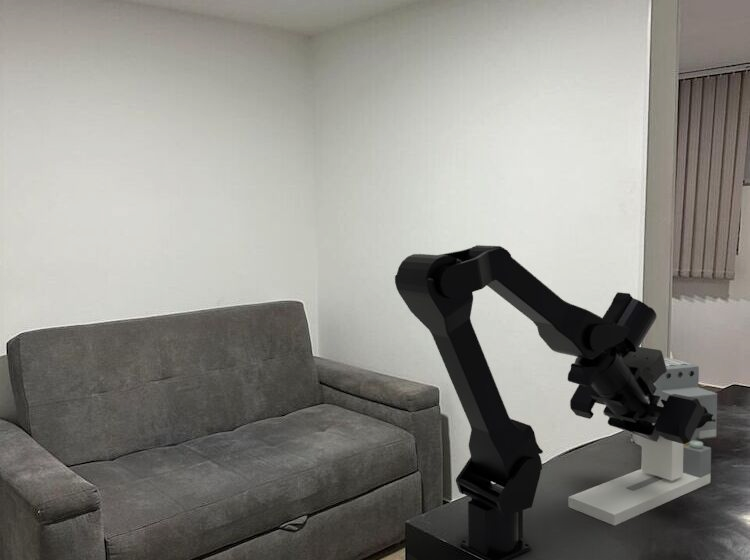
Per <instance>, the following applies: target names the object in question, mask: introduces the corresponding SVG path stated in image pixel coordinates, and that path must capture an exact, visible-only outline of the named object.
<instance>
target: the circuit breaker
mask: <svg viewBox="0 0 750 560" xmlns="http://www.w3.org/2000/svg"><path fill="white" fill-rule="evenodd" d="M663 358H664V361H665V365H666V368H667V371H666V373H665V374H662V375H661V376H660V377H659V378H658V380H657V381H656V382H655V383H653V384H654V385H655V387H656V388H657V389H656V391H655V393H654V395H657V396H660V397H661V399H662V400H666V401H667V399H668V397H669V395H672V394H678V395H683V396H688V397H692V398H697V399H698V400H699V402H700V403H701V405H702V406H703V408H704V410H705V411H704V413H703V415H702V417H701V419H700V422H699V424H698V426H697V428H696V430H695V432H694V434H693V436H692V438H691V440H690V441H692V440H696V441H698V440H702V439H703V440H704V439H712V438H717V425H718V424H717V423H718V421H717V419H718V393H717V392H714V391H710V390H707V389H706V388H702V387H699V383H700V382H699V380H700V379H699V378H700V376H699V375H700V373H699V370H700V369H699V365H697V364H693V363H690V362H685V361H682V360H678V359H675V358H670V357H663ZM631 434H632V438H630V442H633V443H635V444H636V445H638V446H640V447H642V437H641V436H638V435H635V434H633V433H631Z"/></svg>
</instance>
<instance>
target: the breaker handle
mask: <svg viewBox="0 0 750 560" xmlns="http://www.w3.org/2000/svg"><path fill="white" fill-rule="evenodd" d="M640 465H641V468H640V469H641V471H643V472H646V473H649V474H652V475H655V476H659V477H662V478H665V479H668V480H671V481H672V480H674V479H677V478H679V477H681V476H683V444H682V443H678V442H674V441H670V440H667V439H665V438H663V437H662V436H660V435H659V438H658V440H657V442H655V441H651V440H649V439H646V438H643V437H642V446H641V464H640Z"/></svg>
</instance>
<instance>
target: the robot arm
mask: <svg viewBox="0 0 750 560" xmlns="http://www.w3.org/2000/svg"><path fill="white" fill-rule="evenodd" d="M394 283H395V287H396V291H397V292H398V294H399V296H400V297H401V299H402V300H403V302H404V303H405V305H406V306H407V308H408V309H409V311H410V312H411V314H413V315H414V317H415V318H416V319H418V320H419V322H421V323H422V325H424V327H426V329H427V330H428V331H429V332H430V334H431V336H432V337H433V338H432V339H433V340H434V341H433V342H434V343H435V346H436V348H437V349H438V350H437V351H438V352H439V355H440V357H441V360H442V362H443V364H444V366H445V369H446V372H447V373H448V377H449V379H450V380H451V381H450V382H451V383H452V386H453V387H454V391H455V392H456V395H457V397H458V400H459V403H460V404H461V406H462V409H463V411H464V413H465V416H466V418H467V420H468V423H469V426H470V435H469V440H468V450H469V453H470V457H469V459H468V460H467V462H466V463H465V465H464V466H463V468H462V469H461V471H460V472H459V474H458V475H457V477H455V484H456V487H457V489H458V492H459V493H460V494H462V495H465V496H467V497H469V498H471V500H468V502H467V520H468V521H467V524H468V525H467V529H468V530H467V531H468V532H467V533H468V534H467V536H468V537H466V538H464V539H461V540H460V541H459V546H461V547H462V548H464V549H465V550H468V551H469V552H471V553H473V554H475V555H477V556H479V558H482V559H484V560H509V559H512V558H514V557H516V556H519V555H521V554H523V553H525V552H528V551H530V550H531V548H532V545H531V544H530V543H529V542H526V541H524V540H523V538H524V537H523V536H524V533H523V532H524V531H523V530H524V528H523V527H524V525H523V524H524V522H523V520H524V518H523V517H524V513H523V512H524V511H525V510H528V509H531V508H532V507H533V504H534V501H535V496H536V492H537V487H538V484H539V481H540V477H541V471H542V469H543V464H542V463H543V461H542V457H541V454H542V455H543V453H544V450H542V448H541V447H540V446H539V444H538V442H537V438H536V434H535V431H534V429H533V427H532V426H531V425H529V424H526V423H525V422H521V421H519V420H515V419H513V418H510V416H509V413H508V411H507V408H506V406H505V403H504V401H503V398H502V396H501V394H500V391H499V388H498V387H497V384H496V383H497V382H496V381H495V378H494V376H493V374H492V371H491V368H490V366H489V363H488V361H487V358H486V356H485V353H484V350H483V349H482V346H481V343H480V341H479V339H478V336H477V334H476V331H475V327H474V326H473V323H472V320H471V314H472V308H473V302H474V292H476V291H480V290H483V289H484V288H485V287H486V286H487V287H489V289H491V290H492V291H493V292H495V293H496V294H497V295H498V296H500V297H501V298H502V299H503V300H505V301H506V302H507V303H509V304H510V305H511V306H512V307H514V308H515V309H516V310H518V311H519V312H520V313H521V314H522V315H524V316H526V317H527V319H529V320H530V321H532V323H533V324H534V325H535V326H536V328H537V331H538V335H539V337H540V338H541V339H542V341H544V343H545V344H546V345H547V347H548V348H549V349H550V350H552V351H553V352H555V353H557V354H558V353H559V354H563V355H567V356H573V357H576V358H575V360H574V363H573V362H572V363H571V364H570V370H569V371H568V373H567V381H568V382H570V383H573V384H576V385H578V386H577V388H576V389H575V391H574V393H573V394H572V396H571V398H570V401H569V406H570V409H571V411H572V412H573V413H574V414H575V416H578V417H580V418H581V417H582V418H585V419H588V420H590V419H592V418H593V415H594V413H593V411H592V410H593V408H594V406H595V404H599V405H603V406H605V407H604V409H603V415H604V416H605V417H608V420H607V424H608V425H609V426H611V427H613V428H616V429H618V430H622V431H625V432H627V433H631V434H632V433H633V434H635V435H638V436H641V437H643V438H646V439H649V440H651V441H655V442H657V440H658V438H659V435H660V436H662V437H663V438H665V439H667V440H670V441H674V442H678V443H682V444H686V443H688V442H690V440H691V438H692V436H693V434H694V432H695V430H696V428H697V426H698V424H699V422H700V419H701V417H702V415H703V413H704V411H705V410H704V408H703V406H702V405H701V403H700V402H699V400H698V399H697V398H692V397H688V396H683V395H678V394H672V395H669V397H668V399H667V401H666V400H662V399H661V397H660V396H657V395H654V393H655V391H656V389H657V388H656V387H655V385H654V384H653V383H655V382H656V381H657V380H658V378H659V377H660V376H661V375H662V374H665V373H666V371H667V368H666V365H665V361H664V358H665V357H664V354H663V352H662V350H661V349H655V348H649V347H641V344H642V343H643V341H644V339H645V338H646V336H647V335H648V333H649V331H650V330H651V328H652V326H653V325H654V323H655V321H656V319H657V313H656V312H655V310H654V309H653V308H652V307H651V306H648V305H647V304H646V303H644V302H643V301H641V300H639V299H636V298H634V297H633V296H632V295H631V293H629V292H618V291H617V292H616V294H615V296H614V297H613V299H612V300H611V303H610V305H609V307H608V308H607V310H606V312H604V315H603V316H602V317H601V316H600V315H598V314H596V313H594V312H592V311H590V310H588V309H587V308H584V307H583V308H582V307H580V306H578V305H575V304H571V303H569V302H568V301H566V300H564V299H563V298H561V297H560V296H559V294H557V293H555V292H554V291H553V290H551V288H549V287H548V286H547V285H546V284H545V283H543V282H542V281H541V280H540V279H538V278H537V277H536V276H535V275H534V274H532V273H531V271H529V270H528V269H526V267H524V266H523V265H522V264H521V263H519V262H518V261H517V260H516V259H515V258H513V256H512V254H511V252H510V251H509V250H507V249H505V248H504V247H503V246H501V245H480V244H479V245H478V244H477V245H474V246H472V247H470V248H466V249H462V250H457V251H451V252H448V253H441V254H429V253H428V254H427V253H426V254H425V253H413V254H411V255H408V256H407V257H406V258H404V260H402V262H401V263H400V265H399V266H398V269H397V272H396V275H395V276H394ZM633 434H632V435H633ZM502 487H503V488H502Z"/></svg>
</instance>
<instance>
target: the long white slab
mask: <svg viewBox="0 0 750 560" xmlns="http://www.w3.org/2000/svg"><path fill="white" fill-rule="evenodd" d="M711 466H712V447H711V446H705V445H704V442H703V441H700V440H697V441H696V440H692V441H690V442H688V443H686V444H683V476H681V477H679V478H677V479H674V480H672V481H671V480H668V479H665V478H662V477H659V476H655V475H652V474H649V473H646V472H643V471H641V468H640V469H637V470H635V471H632V472H629V473H627V474H625V475H622V476H619V477H616V478H614V479H611V480H609V481H606V482H603V483H601V484H599V485H596V486H593V487H590V488H587V489H585V490H582V491H580V492H578V493H575V494H572V495H570V496H568V502H567V503H568V508H570V509H573V510H575V511H578V512H580V513H582V514H585V515H587V516H590V517H592V518H595V519H597V520H599V521H603V522H605V523H607V524H609V525H612V526H617V525H619V524H622V523H623V522H626V521H628V520H630V519H633V518H635V517H637V516H639V515H641V514H644V513H646V512H648V511H650V510H653V509H656V508H657V507H659V506H662V505H663V504H666V503H668V502H671V501H673V500H675V499H677V498H680V497H681V496H684V495H686V494H688V493H690V492H693V491H696V490H698V489H699V488H702V487H704V486H706V485H709V484H711V478H712V477H711V473H712V472H711V471H712V470H711V469H712V467H711Z"/></svg>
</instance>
